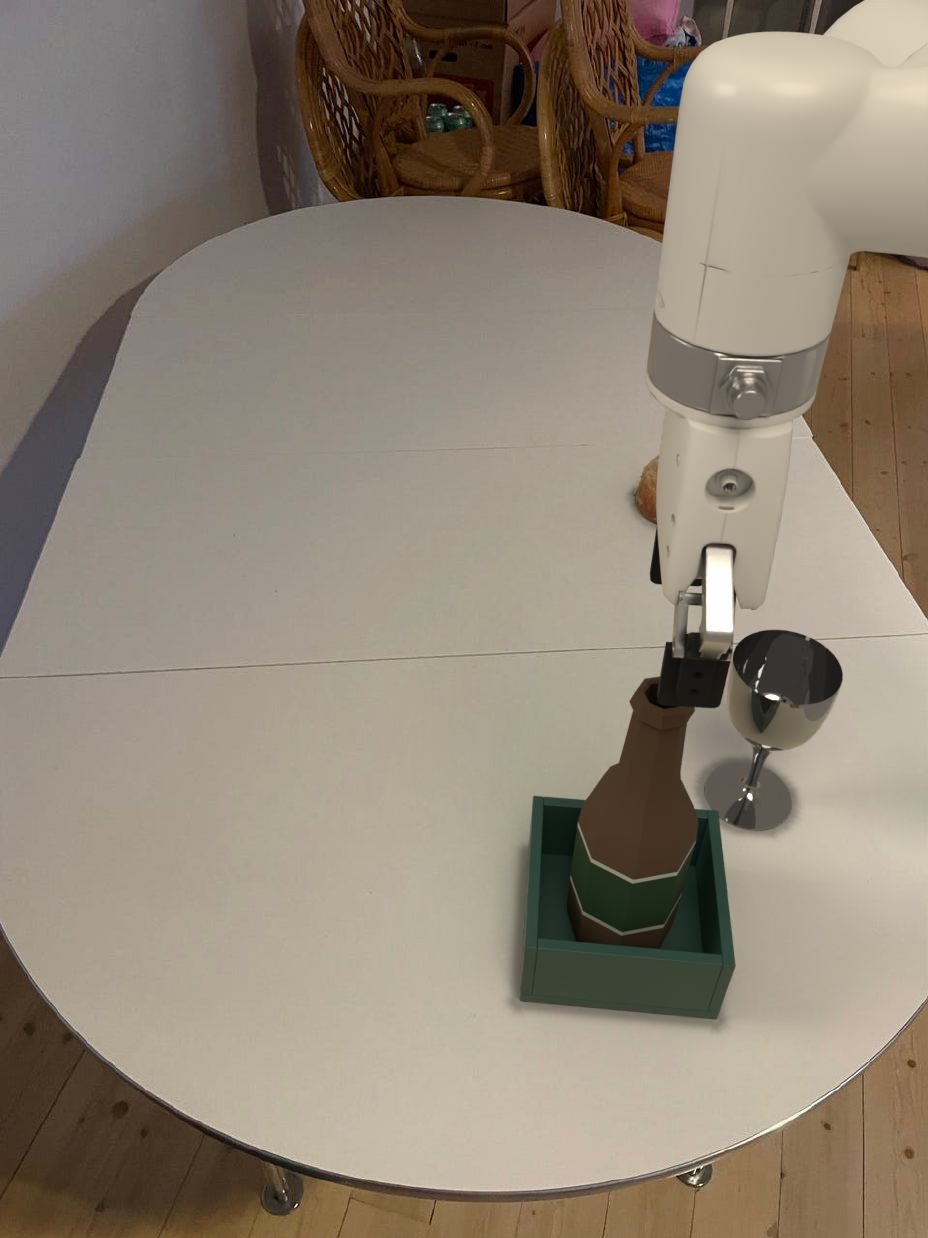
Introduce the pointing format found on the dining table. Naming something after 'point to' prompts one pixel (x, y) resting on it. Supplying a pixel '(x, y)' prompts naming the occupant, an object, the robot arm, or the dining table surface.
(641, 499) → the bread roll
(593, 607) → the dining table surface
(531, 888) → the tub
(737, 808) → the wine glass
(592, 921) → the beer bottle
